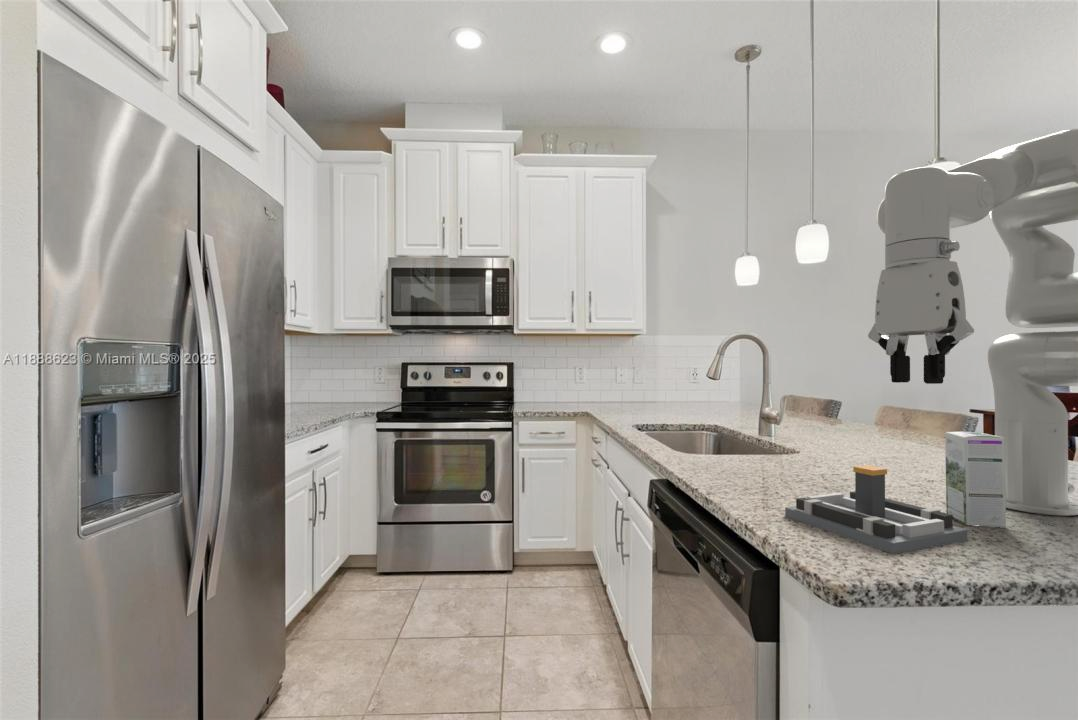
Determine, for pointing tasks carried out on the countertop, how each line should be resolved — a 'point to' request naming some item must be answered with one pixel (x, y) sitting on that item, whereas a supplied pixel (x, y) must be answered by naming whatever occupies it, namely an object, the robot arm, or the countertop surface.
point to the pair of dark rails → (869, 523)
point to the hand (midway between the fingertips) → (916, 381)
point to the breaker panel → (907, 527)
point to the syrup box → (975, 478)
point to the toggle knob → (870, 490)
